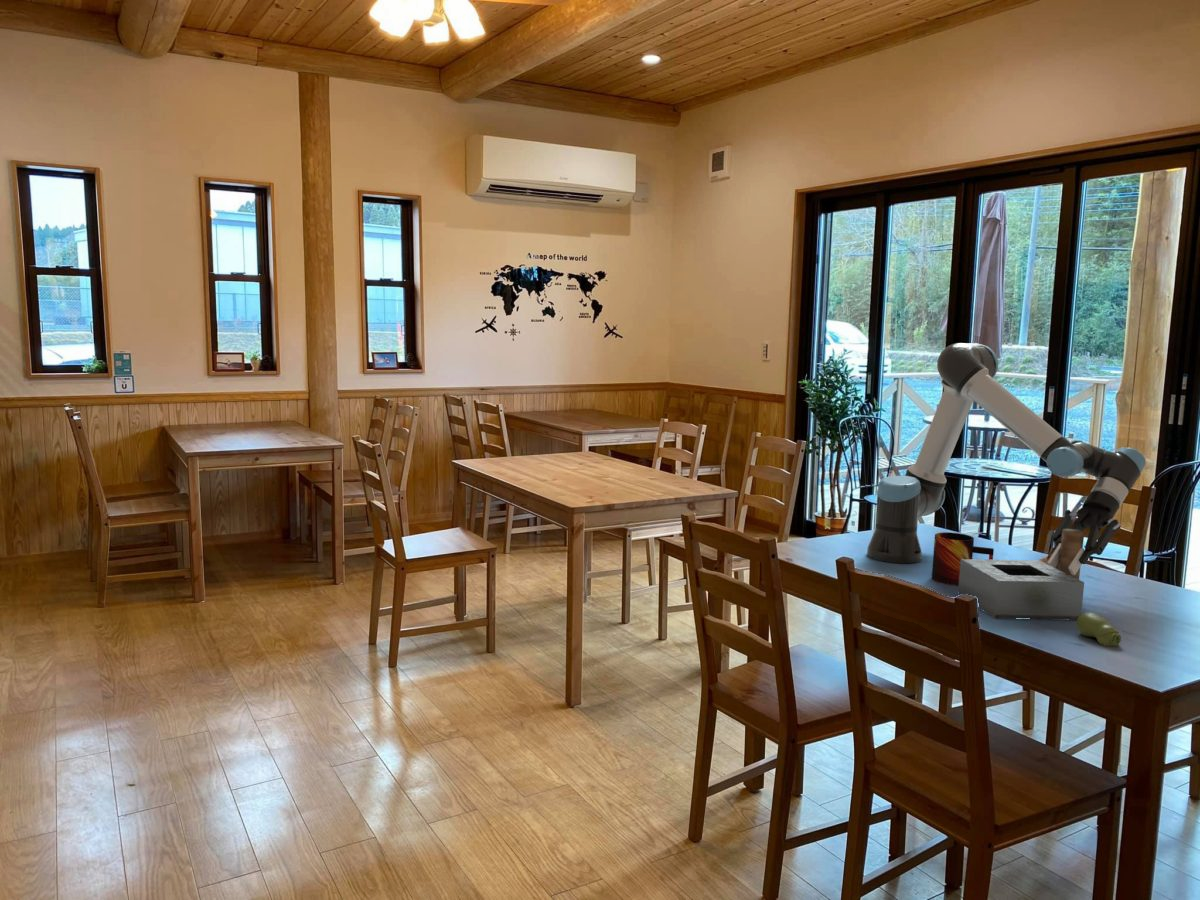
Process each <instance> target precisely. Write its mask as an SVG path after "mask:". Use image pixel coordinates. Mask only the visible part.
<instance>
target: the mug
mask: <svg viewBox="0 0 1200 900" xmlns="http://www.w3.org/2000/svg"><path fill="white" fill-rule="evenodd" d="M974 542H975V538H974V537H973V536H971V535H968V534H965V533H964V534H963V533H959V532H958V533H957V532H936V533H935V534H934V542H933V555H932V556H933V557H932V565H931V566H932V569H931V580H933V581H934V582H936V583H939V584H943V585H947V586H958V585H959V575H960V562H961V559H973V555H974V554H979V555H980V554H981V555H988V560H994V552H995V550H994V548H993V547H983V546H974Z"/></svg>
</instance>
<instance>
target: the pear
mask: <svg viewBox="0 0 1200 900" xmlns="http://www.w3.org/2000/svg"><path fill="white" fill-rule="evenodd" d="M1076 629H1077V630H1078V632H1079V633H1080V634H1081V635H1083V636H1084V637H1088V638H1096V641H1097V643H1098V644H1100V645H1102V646H1104V647H1118V646H1120V643H1121V641H1122V636H1121V635H1120V634H1119V633H1120V632H1119V631H1118V629H1116V628H1115V627H1114V626H1112V625H1111V624H1110V622H1109V621H1108V620H1107V619H1106V618H1104V617H1103V616H1101V615H1099V614H1097V613H1096V612H1095V613H1094V612H1084V613H1081V615H1080V616H1079V618H1078V619H1077V620H1076Z"/></svg>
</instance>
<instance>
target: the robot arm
mask: <svg viewBox="0 0 1200 900" xmlns="http://www.w3.org/2000/svg"><path fill="white" fill-rule="evenodd" d="M936 365H937V366H936V367H937V372H938V374H939V376H940V377H941V378H942V379H941V382H940V383H941V385H942V388H943V392H942V395H941V397H940V400H939V403H938V405H937V408H936V410H935V412H934V415H933V418H932V420H931V422H930V425H929V428H928V431H927V433H926V435H925V438H924V440H923V443H922V446H921V449H920V451H919V454H918V456H917V459H916V461H915V463H914V464H912V465H910V466H908V467H907V469H906V472H905V475H892V476H891V475H889V476H886V477H883V478H881V479H880V480H879V482H878V486H877V490H876V495H877V496H876V512H875V525H874V531H873V533H872V535H871V536H872V537H871V539H870V541H869V543H868V546H867V552H866V555H867V556H868V557H869V558H871V559H874V560H877V561H880V562H886V563H894V564H915V563H919V562H921V561H922V558H923V557H922V556H923V555H922V554H923V552H922V548H921V544H920V540H919V536H918V526H919V525H918V521H919V518H921V517H925V516H929V515H932V514H934V513H935V512H936V511H938V510H939V509H940V508H941V507H942V506H943V505H944V502H945V498H946V490H945V487H946V484H947V478H946V476H945V472H946V470H947V467H948V465H949V463H950V462H949V461H950V460H951V457H952V454H953V452H954V450H955V447H956V445H957V442H958V440H959V438H960V435H961V432H962V430H963V428H964V425H965V422H966V421H967V417H968V416H969V412H970V410H971V407H972V405H973V403H976V404H977V405H979V407H980V408H982V409H983V410H984V411H985V412H986V413H988V414H989V415H990V416H991V417H992V418H994V419H995V420H996V421H997V422H998V423H1000V424H1001V426H1003V427H1004V428H1005V429H1006V430H1008V431H1009V432H1010V433H1012V434H1013V436H1015V437H1016V438H1017V439H1018V440H1020V442H1022V443H1023V444H1024V445H1025V446H1027V447H1028V448H1029V449H1030V450H1031V451H1032V452H1033V453H1035V454H1036V455H1037V456H1038V457H1039V458H1040V459H1042V460H1043V461H1044V462H1046V466H1047V468H1048V470H1049V471H1050V472H1051V474H1053V475H1055V476H1057V477H1062V478H1063V477H1064V478H1065V477H1066V478H1069V477H1070V478H1071V477H1074V476H1076V475H1078V474H1081V473H1083V474H1086V475H1089V476H1092V477H1095V478H1097V481H1096V483H1095V484H1094V485H1093V487H1092V489H1091V490H1090V492H1089V493H1088V495H1087V497H1086V498H1085V500H1084V501H1083V504H1082V507H1081V508H1079V509H1077V511H1071V510H1070V509H1066V510H1065V512H1064V515H1063V516H1064V517H1063V519H1061V521H1060V523H1059V524H1058V526H1057V528H1056V529H1055V531H1054V532H1053V534H1052V536H1051V537H1050V539H1051V541H1052V542H1053V544H1054V546H1053V547H1054V548H1053V549H1052V551H1051V554H1052V556H1051V557H1050V559H1049V560H1048V562H1047V563H1048V565H1049V566H1051V567H1053V568H1055V567H1056V565H1057V564H1058V562H1059V559H1060V550H1061V541H1062V532H1063V529H1075V530H1080V531H1083V532H1085V530H1086V529H1089V532H1088V535H1087V540H1086V543H1085V545H1083V547H1084V548H1081V549H1080V550H1079V552H1078V553H1077V555H1076V556H1075V558H1074V560H1073V561H1072V563H1071V564H1070V566H1069V567H1068V569H1069V571H1070V572H1071V574H1072V575H1075V574H1076V573H1077V571H1078V569H1079V568H1080V569H1081V567H1080V566H1082V565H1085V564H1086V563H1087V562H1088V560H1089V559H1090V557H1091V556H1092V555H1097V556H1101V555H1102V553H1103V552H1104V551H1105V549H1106V547H1107V546H1108V545H1109V543H1110V541H1111V539H1112V538H1113V536H1114V534H1115V533H1116V532H1117V531H1119V530H1120V529H1121V528H1122V527H1121V525H1120V523H1119V520H1118V519H1113V518H1114V517H1115V515H1116V514H1117V512H1118V511H1119V509H1120V506H1122V504H1123V502H1124V501H1125V499H1126V497H1127V496H1128V494H1129V493H1130V491H1131V489H1132V488H1133V486H1134V485H1135V483H1136V482H1137V480H1139V478H1140V476H1141V474H1142V472H1143V470H1144V468H1145V466H1146V465H1147V460H1146V458H1145V456H1144V454H1143V453H1141V451H1139V450H1137V449H1135V448H1132V447H1125V446H1124V447H1119V448H1118V449H1117V450H1116V451H1115V452H1114V451H1111V450H1110V451H1109V450H1108V449H1107V450H1106V449H1103V448H1101V447H1098V446H1095V445H1092V444H1089V443H1087V442H1084V441H1083V440H1080V439H1075V438H1073V437H1072V438H1071V437H1068V438H1065V437H1064V436H1063V435H1062V434H1061V433H1060V432H1058V431H1057V430H1056V429H1055V428H1054V427H1052V426H1051V425H1050V424H1049V423H1047V422H1046V421H1045V420H1044V419H1042V418H1041V417H1040V416H1039V415H1038V414H1037V413H1035V412H1034V411H1033V410H1031V409H1030V407H1028V406H1027V405H1026V404H1024V403H1023V401H1021V400H1020V399H1019V398H1018V397H1016V395H1014V394H1013V393H1011V392H1010V391H1009V390H1008V389H1007V388H1005V387H1004V386H1003V385H1001V384H1000V383H999V382H998V381H997V380H996V379H995V376H996V375H997V372H998V369H999V359H998V357H997V355H996V353H995V352H994V350H993V349H992V348H990V347H989V346H987V345H984V344H982V343H977V342H971V343H970V342H969V343H968V342H965V343H964V342H956V343H952V344H950V345H948V346H947V347H945V348H944V349H943V350H942V351H941V352H940V354H939V356H938V358H937V364H936ZM1104 527H1105V528H1104ZM1102 528H1104V529H1103V530H1102ZM1101 531H1102V532H1101Z"/></svg>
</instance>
